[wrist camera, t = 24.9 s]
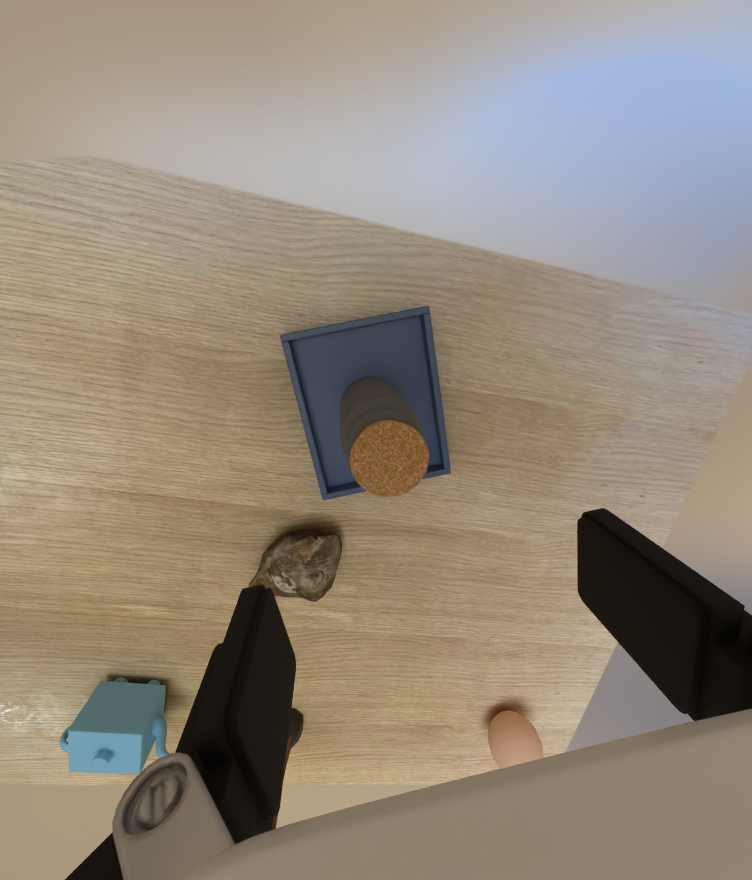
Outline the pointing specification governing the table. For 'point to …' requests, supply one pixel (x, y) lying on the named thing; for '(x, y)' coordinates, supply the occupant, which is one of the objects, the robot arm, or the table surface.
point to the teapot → (117, 728)
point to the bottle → (381, 438)
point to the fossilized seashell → (300, 564)
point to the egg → (513, 740)
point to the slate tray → (357, 356)
